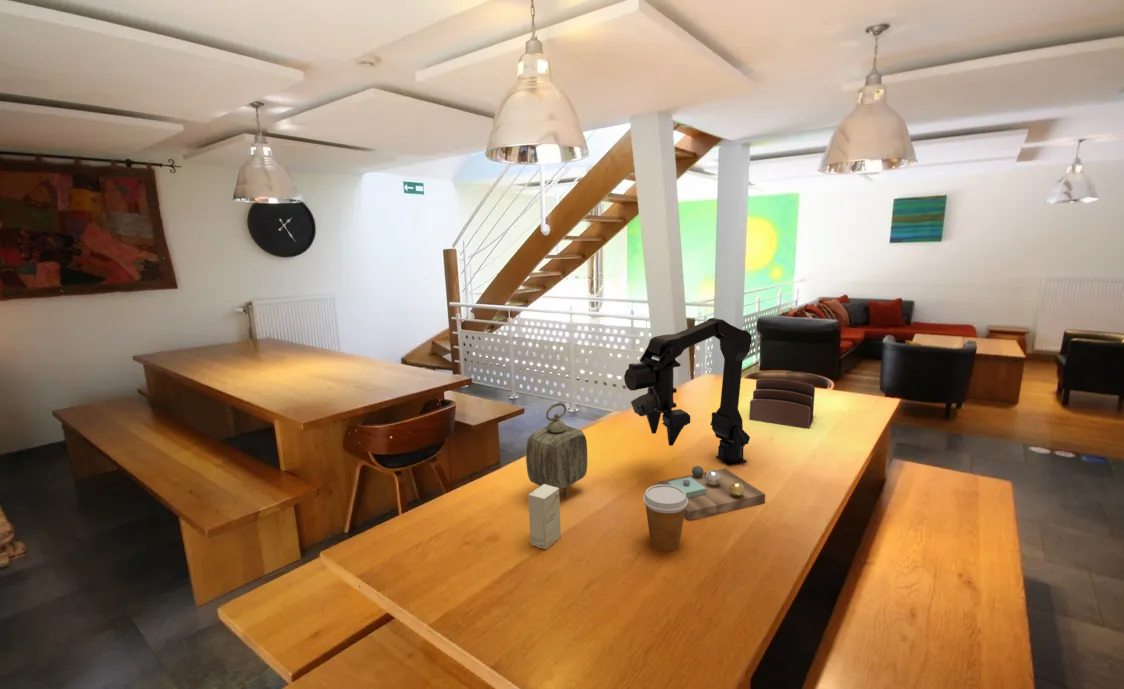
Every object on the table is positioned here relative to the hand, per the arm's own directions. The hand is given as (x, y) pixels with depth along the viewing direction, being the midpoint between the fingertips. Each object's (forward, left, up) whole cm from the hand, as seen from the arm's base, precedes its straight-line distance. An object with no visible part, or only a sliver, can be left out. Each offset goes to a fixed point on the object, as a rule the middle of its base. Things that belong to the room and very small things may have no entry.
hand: (662, 439), depth 144 cm
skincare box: (+39, +16, -12) cm, 44 cm away
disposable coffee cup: (+15, +27, -12) cm, 33 cm away
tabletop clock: (+29, -3, -12) cm, 32 cm away
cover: (0, +12, -9) cm, 15 cm away
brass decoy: (-10, +19, -8) cm, 23 cm away
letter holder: (-62, -24, -12) cm, 68 cm away
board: (-6, +13, -12) cm, 19 cm away
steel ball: (-8, +12, -7) cm, 16 cm away
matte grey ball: (-7, +7, -8) cm, 13 cm away
